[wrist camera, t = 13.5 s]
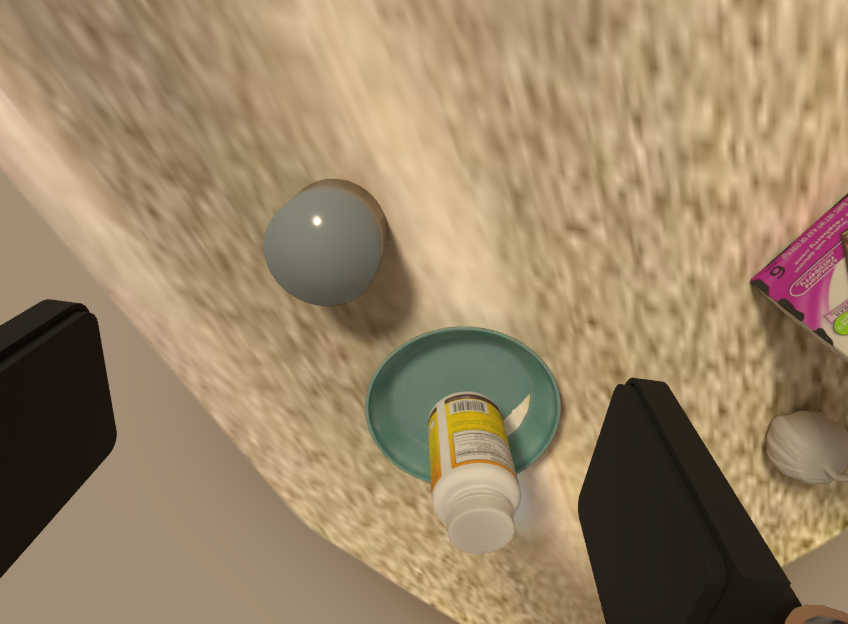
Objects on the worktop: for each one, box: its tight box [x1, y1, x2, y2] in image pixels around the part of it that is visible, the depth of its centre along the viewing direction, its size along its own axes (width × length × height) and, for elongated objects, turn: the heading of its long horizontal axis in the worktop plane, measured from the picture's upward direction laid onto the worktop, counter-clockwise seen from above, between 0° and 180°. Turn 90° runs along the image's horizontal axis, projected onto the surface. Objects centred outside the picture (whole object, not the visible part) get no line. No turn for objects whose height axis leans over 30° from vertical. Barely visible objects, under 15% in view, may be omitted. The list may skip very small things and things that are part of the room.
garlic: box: [767, 411, 848, 484], centre depth 40 cm, size 6×5×5 cm
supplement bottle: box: [428, 391, 520, 554], centre depth 36 cm, size 6×6×10 cm
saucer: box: [365, 327, 561, 483], centre depth 42 cm, size 15×15×3 cm
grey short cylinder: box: [264, 179, 387, 306], centre depth 35 cm, size 7×7×5 cm
